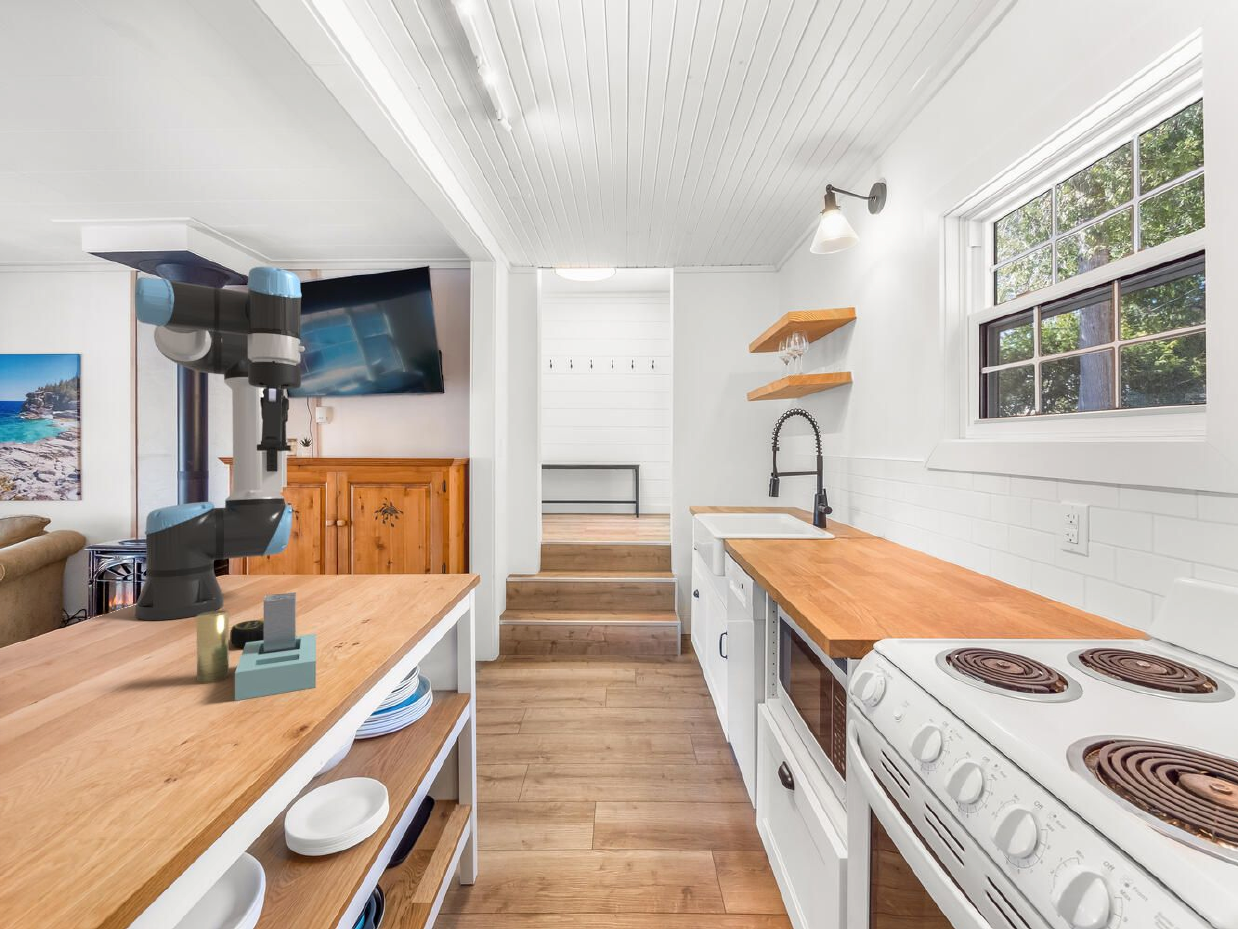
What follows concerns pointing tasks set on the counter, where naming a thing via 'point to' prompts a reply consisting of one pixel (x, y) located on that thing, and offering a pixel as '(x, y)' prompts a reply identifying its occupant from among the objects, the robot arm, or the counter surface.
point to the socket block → (276, 669)
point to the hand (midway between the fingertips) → (275, 490)
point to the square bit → (279, 622)
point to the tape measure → (247, 632)
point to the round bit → (212, 646)
